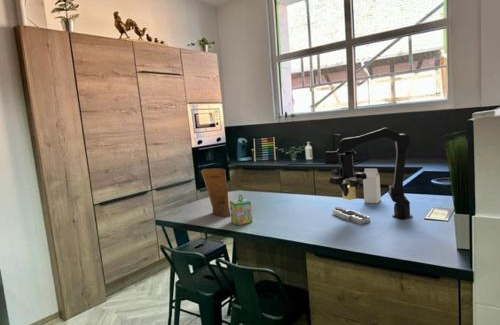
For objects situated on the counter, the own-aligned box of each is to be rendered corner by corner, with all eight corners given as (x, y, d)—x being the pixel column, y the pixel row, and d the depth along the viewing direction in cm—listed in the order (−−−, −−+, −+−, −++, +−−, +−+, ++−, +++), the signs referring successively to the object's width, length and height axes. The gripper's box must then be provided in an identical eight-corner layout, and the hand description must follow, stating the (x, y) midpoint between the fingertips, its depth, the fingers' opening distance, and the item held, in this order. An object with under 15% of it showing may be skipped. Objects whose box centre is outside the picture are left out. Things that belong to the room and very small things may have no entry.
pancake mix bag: (226, 218, 188) (220, 169, 184) (205, 214, 202) (199, 168, 198) (235, 215, 193) (229, 167, 189) (214, 211, 206) (208, 166, 203)
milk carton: (377, 203, 187) (375, 169, 184) (364, 202, 191) (362, 169, 189) (380, 200, 192) (379, 167, 190) (368, 199, 197) (366, 167, 194)
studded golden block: (355, 198, 165) (355, 185, 164) (349, 200, 163) (348, 186, 162) (349, 196, 169) (348, 183, 168) (342, 198, 168) (341, 185, 167)
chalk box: (231, 221, 182) (228, 194, 180) (247, 218, 185) (244, 192, 183) (236, 226, 173) (233, 198, 171) (253, 222, 176) (250, 195, 174)
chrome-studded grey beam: (372, 221, 158) (372, 214, 158) (360, 225, 156) (359, 218, 155) (342, 211, 179) (341, 205, 178) (330, 214, 176) (330, 208, 175)
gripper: (351, 160, 175) (353, 189, 177) (321, 165, 168) (323, 196, 170) (366, 161, 165) (368, 193, 167) (335, 167, 157) (337, 200, 159)
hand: (349, 195), depth 166 cm, fingers closed on studded golden block, 4 cm apart
